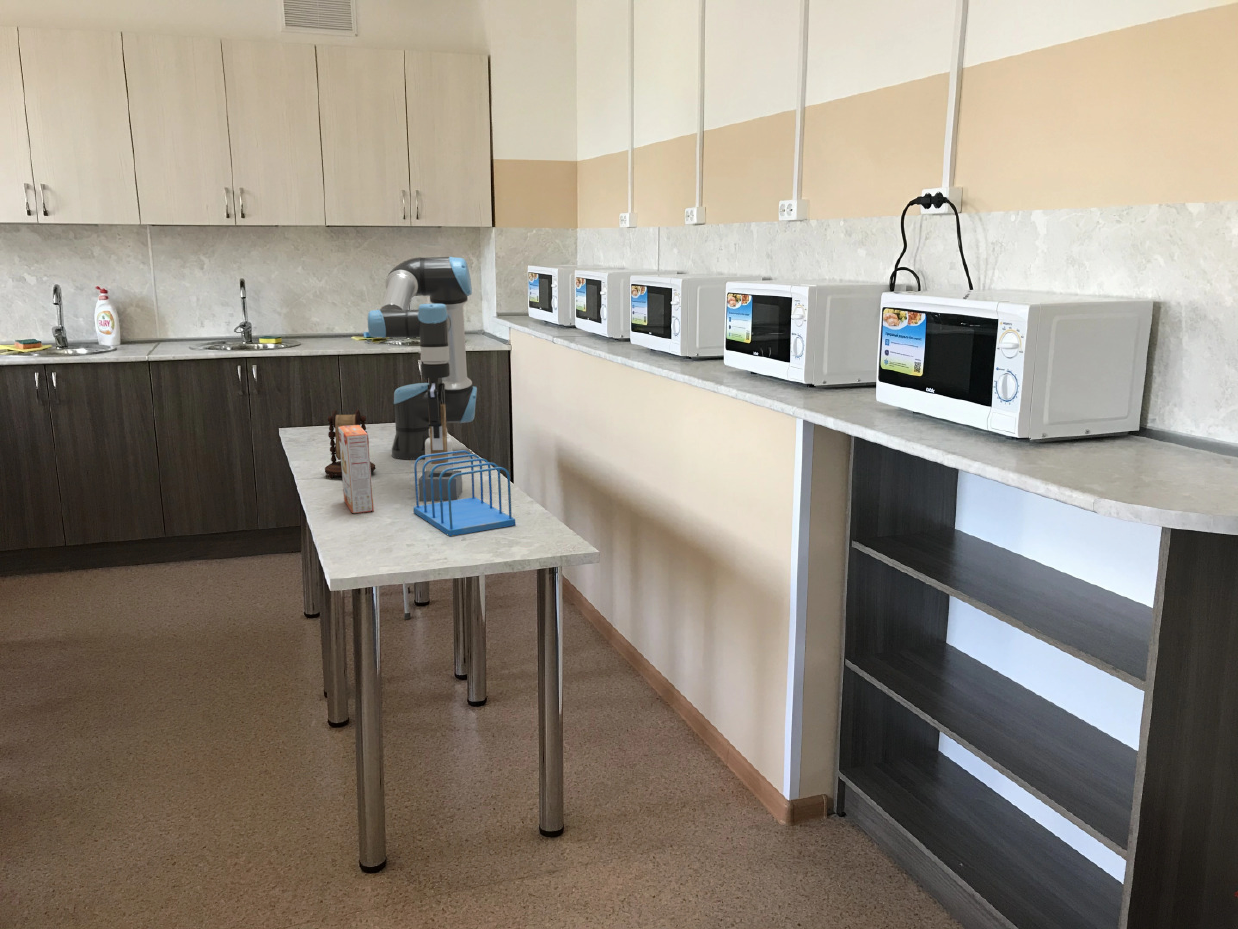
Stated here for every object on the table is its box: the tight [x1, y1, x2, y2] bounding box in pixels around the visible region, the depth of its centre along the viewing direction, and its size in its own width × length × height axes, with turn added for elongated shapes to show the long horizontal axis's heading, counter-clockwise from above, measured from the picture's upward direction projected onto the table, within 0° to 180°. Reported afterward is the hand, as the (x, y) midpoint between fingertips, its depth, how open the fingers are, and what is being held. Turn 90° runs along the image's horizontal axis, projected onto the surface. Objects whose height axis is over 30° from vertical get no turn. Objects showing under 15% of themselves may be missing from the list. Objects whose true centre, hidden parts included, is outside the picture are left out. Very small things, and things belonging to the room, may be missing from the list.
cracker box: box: [338, 424, 374, 514], centre depth 259 cm, size 14×6×21 cm, turn 23°
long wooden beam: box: [429, 404, 448, 464], centre depth 267 cm, size 3×4×16 cm
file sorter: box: [413, 449, 516, 537], centre depth 247 cm, size 25×17×15 cm
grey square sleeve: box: [418, 470, 463, 502], centre depth 271 cm, size 10×10×6 cm
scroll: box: [324, 408, 377, 480], centre depth 296 cm, size 15×15×20 cm
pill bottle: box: [424, 428, 454, 471], centre depth 290 cm, size 8×8×15 cm
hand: (439, 448), depth 268 cm, fingers closed on long wooden beam, 3 cm apart
